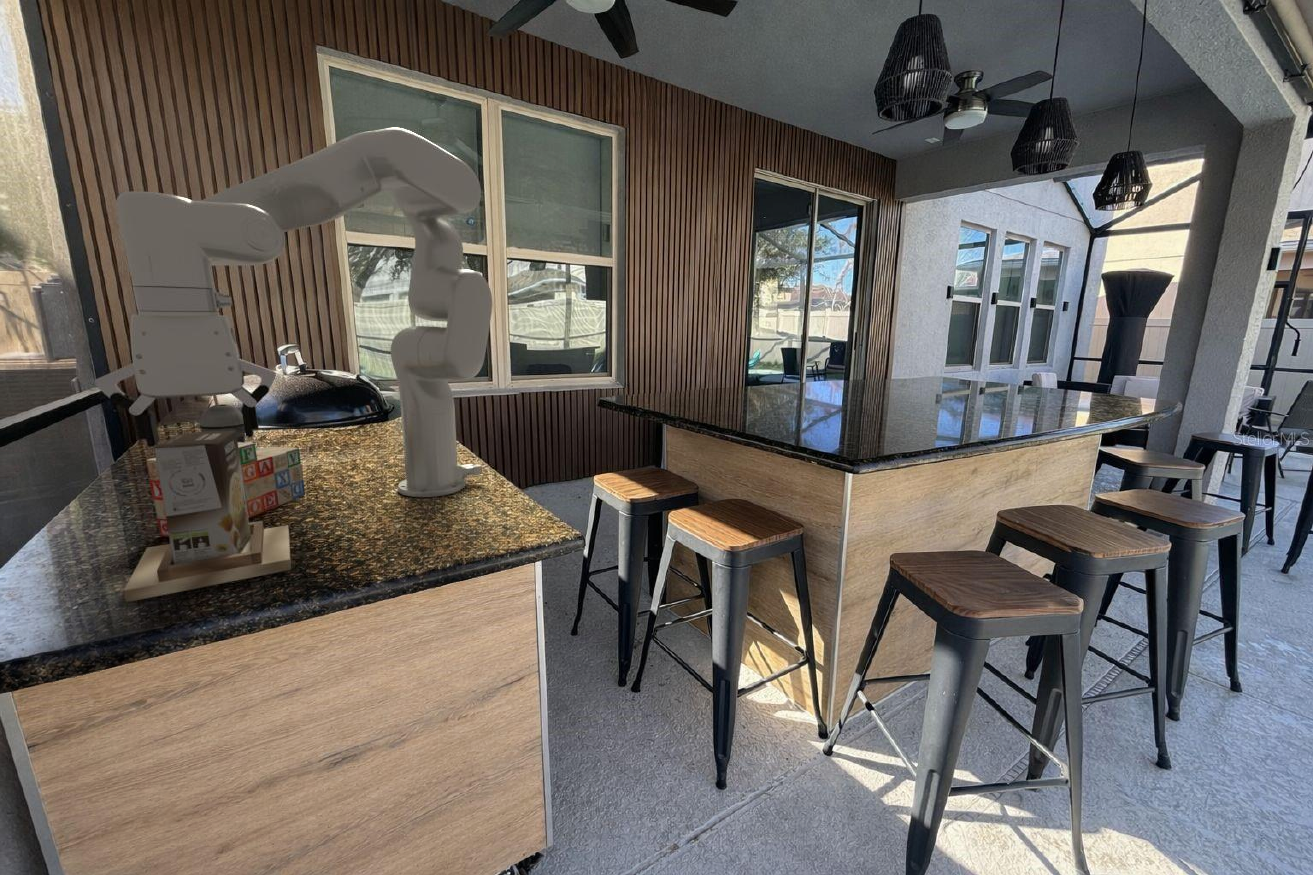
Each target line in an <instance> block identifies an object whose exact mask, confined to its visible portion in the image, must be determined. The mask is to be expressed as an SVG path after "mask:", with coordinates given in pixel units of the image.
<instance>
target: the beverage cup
mask: <svg viewBox="0 0 1313 875" xmlns="http://www.w3.org/2000/svg"><path fill="white" fill-rule="evenodd" d="M217 396H218V395H212V397H213V398H212V399H213V401H214V405H212V406H210V407H208V408H206V409H205V410H204V411H203V412H202V414H201V416H200V418H199V426H198V428H199V429H200V430H201V431H200V432H209V431H233V430H236V434H237V441H238V442H242V443H246V433H245V427H244V422H243V416H242V411H240V410H239V409H238V408H236V407H234V406H232V405H229V404H220V403H219V400H218V397H217Z"/></svg>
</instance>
